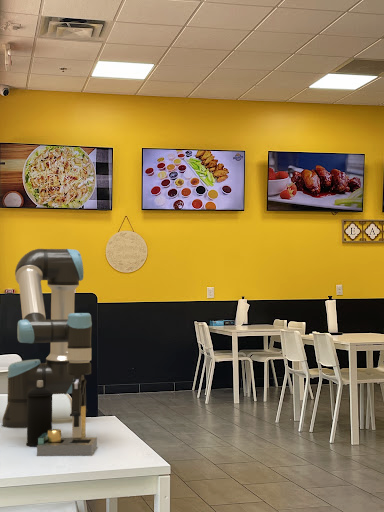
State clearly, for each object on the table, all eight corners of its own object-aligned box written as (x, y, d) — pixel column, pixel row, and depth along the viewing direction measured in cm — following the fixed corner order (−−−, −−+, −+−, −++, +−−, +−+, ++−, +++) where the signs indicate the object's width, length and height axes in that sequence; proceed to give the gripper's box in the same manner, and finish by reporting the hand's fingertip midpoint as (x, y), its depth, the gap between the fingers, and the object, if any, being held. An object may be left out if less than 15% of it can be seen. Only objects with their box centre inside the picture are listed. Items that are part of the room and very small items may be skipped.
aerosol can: (46, 447, 228) (47, 382, 229) (21, 446, 229) (22, 381, 230) (56, 442, 236) (57, 379, 237) (32, 441, 237) (33, 379, 238)
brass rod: (73, 443, 233) (73, 405, 234) (86, 443, 233) (86, 405, 234) (71, 446, 229) (71, 407, 230) (84, 446, 229) (84, 407, 230)
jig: (44, 447, 227) (44, 427, 228) (96, 447, 227) (96, 426, 228) (36, 455, 215) (37, 434, 216) (91, 455, 215) (91, 433, 216)
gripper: (72, 360, 243) (71, 430, 241) (61, 363, 222) (61, 440, 220) (95, 359, 243) (94, 430, 241) (86, 363, 222) (86, 440, 220)
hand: (78, 435), depth 231 cm, fingers open, 8 cm apart
